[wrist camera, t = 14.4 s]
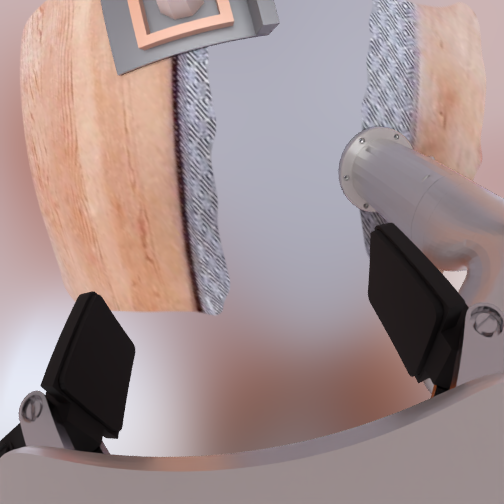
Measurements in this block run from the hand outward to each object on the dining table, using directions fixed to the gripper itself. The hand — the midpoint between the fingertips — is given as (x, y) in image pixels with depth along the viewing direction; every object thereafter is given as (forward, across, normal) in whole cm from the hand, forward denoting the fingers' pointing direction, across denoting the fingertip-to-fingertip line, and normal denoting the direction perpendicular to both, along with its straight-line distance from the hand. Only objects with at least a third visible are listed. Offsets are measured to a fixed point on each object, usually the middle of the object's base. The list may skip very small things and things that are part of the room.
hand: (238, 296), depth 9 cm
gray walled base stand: (+28, +1, -19) cm, 34 cm away
